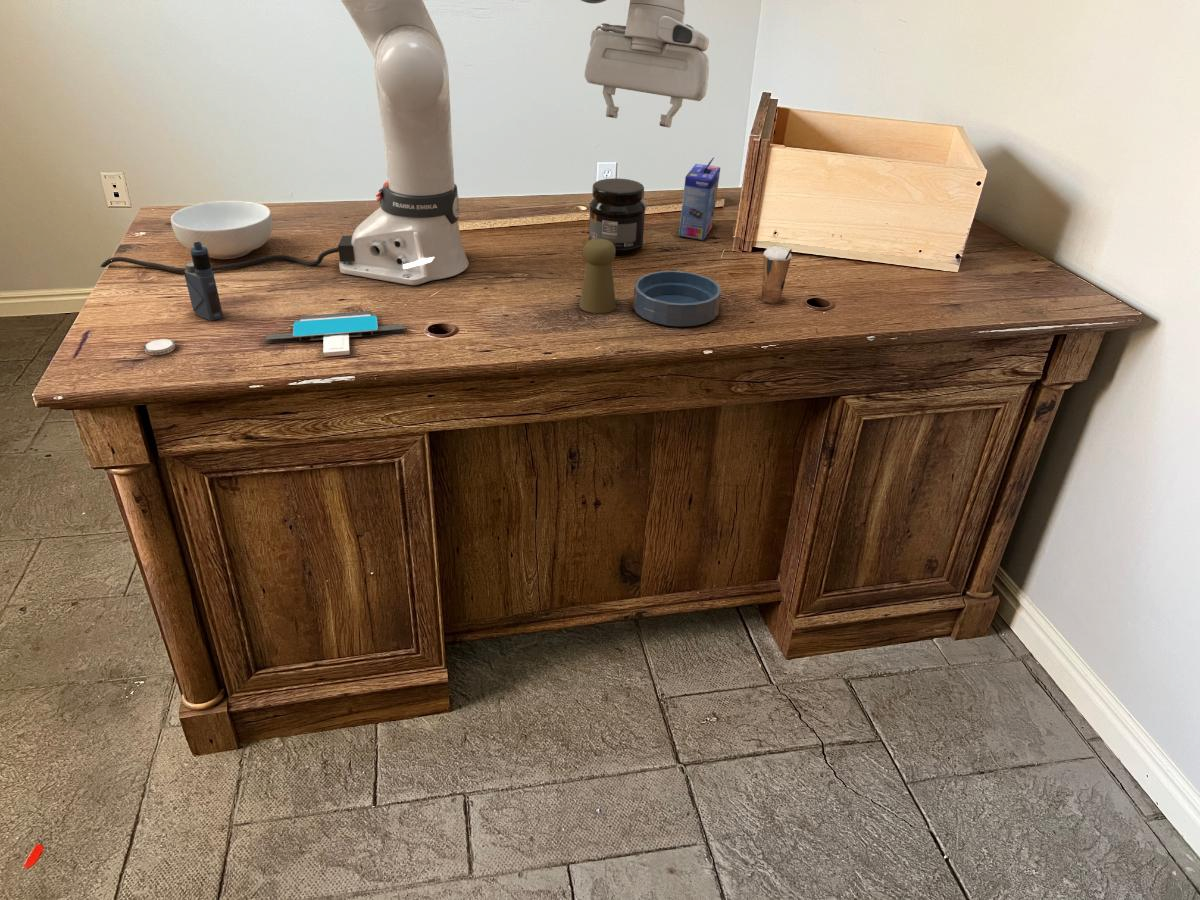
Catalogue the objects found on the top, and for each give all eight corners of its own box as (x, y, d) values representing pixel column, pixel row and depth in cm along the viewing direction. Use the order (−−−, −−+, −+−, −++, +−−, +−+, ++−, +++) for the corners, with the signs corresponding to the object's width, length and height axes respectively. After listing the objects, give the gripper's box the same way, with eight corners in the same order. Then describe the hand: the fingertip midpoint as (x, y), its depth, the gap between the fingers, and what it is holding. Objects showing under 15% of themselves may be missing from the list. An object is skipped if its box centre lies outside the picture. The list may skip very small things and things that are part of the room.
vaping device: (212, 322, 132) (195, 247, 125) (190, 314, 134) (172, 239, 127) (227, 316, 133) (210, 242, 127) (205, 308, 136) (187, 235, 129)
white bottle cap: (141, 355, 122) (140, 351, 121) (149, 343, 125) (147, 339, 125) (171, 354, 122) (170, 350, 122) (178, 341, 126) (177, 337, 125)
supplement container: (630, 236, 170) (634, 175, 163) (651, 255, 161) (656, 191, 155) (580, 241, 166) (581, 179, 160) (599, 261, 158) (601, 196, 152)
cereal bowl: (274, 266, 151) (267, 227, 147) (172, 272, 147) (162, 232, 144) (280, 233, 165) (273, 196, 161) (187, 238, 161) (178, 200, 157)
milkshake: (770, 309, 143) (779, 251, 137) (751, 297, 147) (759, 240, 141) (792, 304, 144) (802, 247, 139) (773, 292, 148) (782, 236, 143)
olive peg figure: (612, 315, 139) (614, 249, 133) (575, 310, 140) (576, 245, 133) (618, 300, 144) (621, 236, 138) (583, 296, 144) (585, 232, 138)
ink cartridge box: (705, 241, 169) (713, 166, 161) (677, 237, 170) (684, 163, 162) (714, 225, 177) (722, 153, 169) (688, 222, 178) (695, 150, 170)
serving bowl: (629, 324, 136) (630, 300, 134) (637, 289, 148) (638, 267, 145) (717, 331, 135) (720, 308, 133) (719, 296, 146) (721, 274, 144)
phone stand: (263, 362, 122) (261, 351, 121) (268, 326, 131) (266, 316, 130) (407, 350, 126) (406, 339, 125) (401, 316, 136) (400, 306, 135)
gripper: (586, 18, 136) (572, 110, 141) (709, 35, 130) (690, 131, 135) (600, 24, 142) (587, 113, 146) (718, 41, 136) (701, 133, 141)
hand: (637, 122), depth 141 cm, fingers open, 8 cm apart
